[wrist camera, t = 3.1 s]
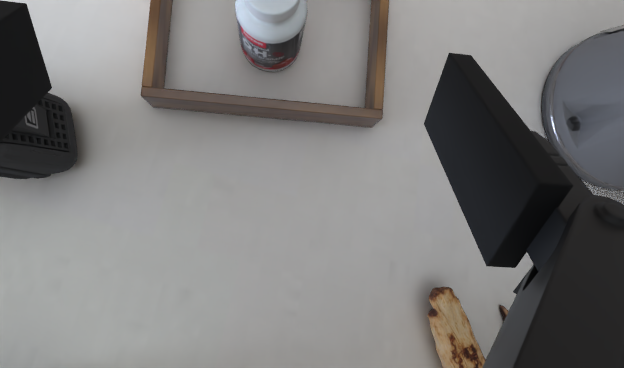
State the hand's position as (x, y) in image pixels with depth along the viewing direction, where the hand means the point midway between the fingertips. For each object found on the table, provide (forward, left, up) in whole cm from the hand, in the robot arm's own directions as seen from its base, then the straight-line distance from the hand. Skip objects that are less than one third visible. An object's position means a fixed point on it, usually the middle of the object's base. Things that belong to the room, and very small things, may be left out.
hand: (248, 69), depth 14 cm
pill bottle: (+4, -10, -23) cm, 26 cm away
